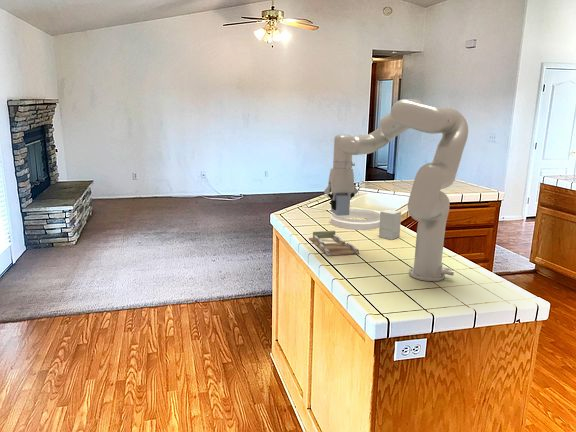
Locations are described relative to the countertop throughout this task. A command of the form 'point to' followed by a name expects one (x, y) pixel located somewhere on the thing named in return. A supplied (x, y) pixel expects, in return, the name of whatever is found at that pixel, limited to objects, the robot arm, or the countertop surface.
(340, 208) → the slider block
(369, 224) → the plate
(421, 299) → the countertop surface
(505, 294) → the countertop surface
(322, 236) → the track
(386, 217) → the supplement box
